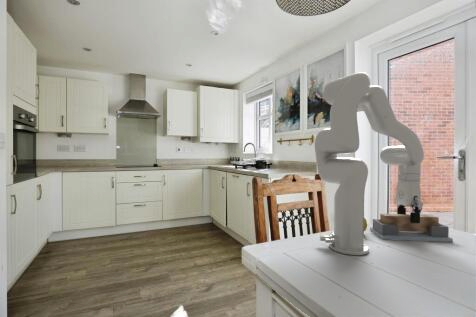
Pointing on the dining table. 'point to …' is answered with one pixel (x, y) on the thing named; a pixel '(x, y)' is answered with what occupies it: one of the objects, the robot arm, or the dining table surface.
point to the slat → (406, 225)
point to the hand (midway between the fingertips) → (407, 219)
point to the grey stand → (393, 232)
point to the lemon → (365, 224)
